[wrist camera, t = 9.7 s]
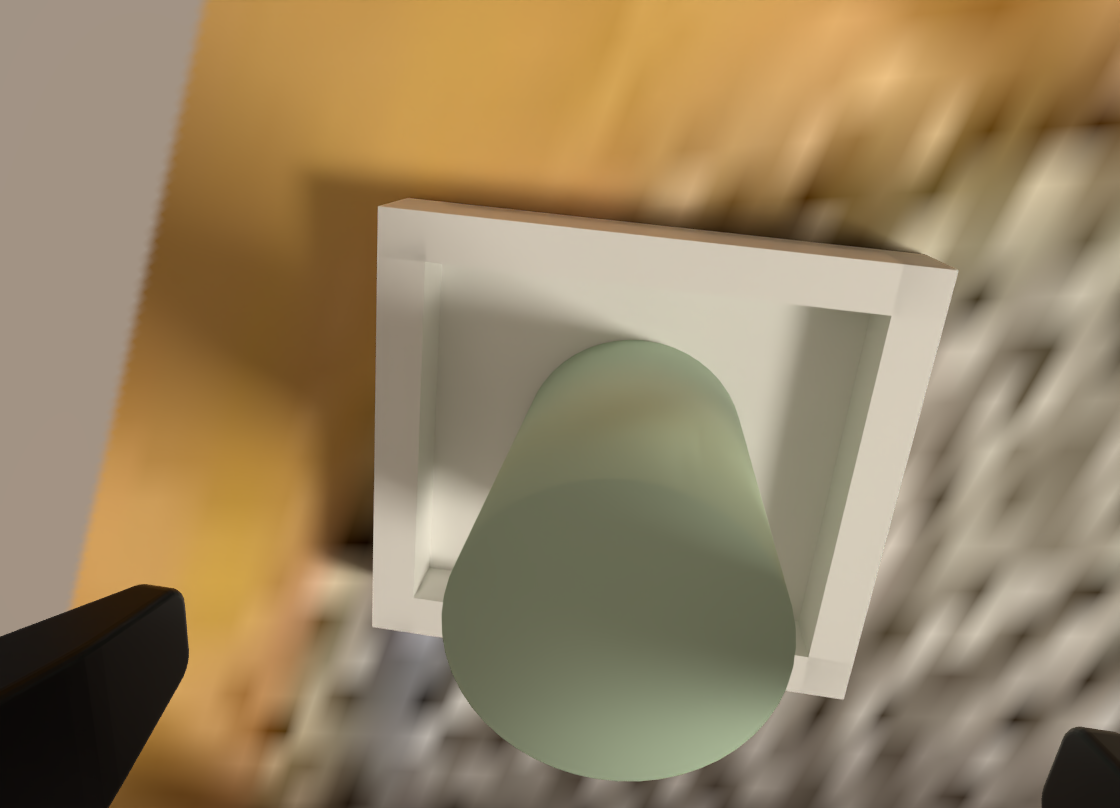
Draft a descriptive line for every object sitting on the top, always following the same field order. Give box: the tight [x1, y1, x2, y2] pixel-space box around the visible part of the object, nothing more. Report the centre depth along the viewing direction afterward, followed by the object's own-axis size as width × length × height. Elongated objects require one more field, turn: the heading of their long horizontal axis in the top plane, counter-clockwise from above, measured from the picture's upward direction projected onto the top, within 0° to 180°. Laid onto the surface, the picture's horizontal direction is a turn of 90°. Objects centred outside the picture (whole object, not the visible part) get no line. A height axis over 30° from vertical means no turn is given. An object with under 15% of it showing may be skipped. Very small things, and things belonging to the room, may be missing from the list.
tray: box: [372, 198, 959, 700], centre depth 14 cm, size 9×8×2 cm
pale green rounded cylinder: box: [442, 340, 796, 781], centre depth 12 cm, size 4×4×6 cm
